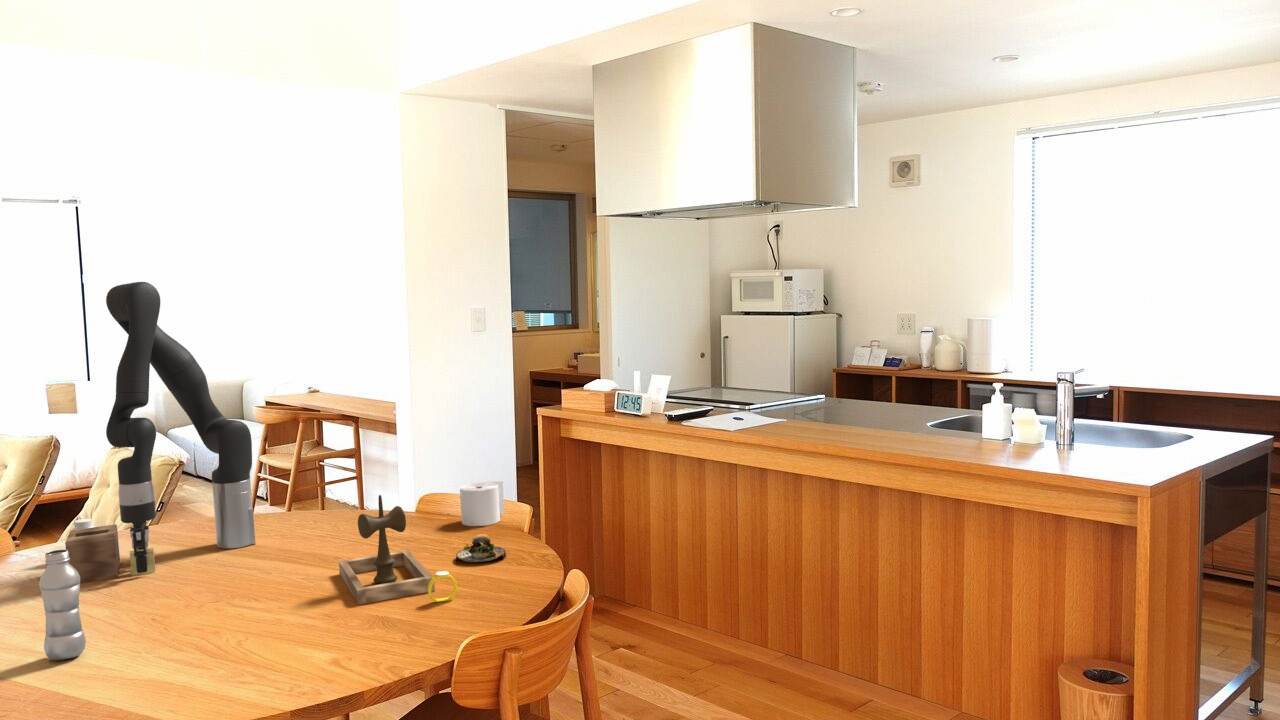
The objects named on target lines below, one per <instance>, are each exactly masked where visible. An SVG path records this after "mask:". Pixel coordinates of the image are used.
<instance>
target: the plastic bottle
mask: <svg viewBox="0 0 1280 720" xmlns="http://www.w3.org/2000/svg"><path fill="white" fill-rule="evenodd" d="M44 557H45V565H46V566H47V567H46V568H45V569H44V571H43V573H42V574H41V576H40V579H39V582H38V584H39V585H38V586H39V590H40V594H41V597H42V598H41V599H42V601H43V608H44V612H45V613H44V615H45V636H44V641H43V642H44V643H43V644H44V645H43V650H44V653H45V656H46V657H47V658H48V659H49V660H51V661H63V660H67V659H68V660H69V659H72V658H76V657H78V656H79V655H81V654H83V651H84V650H85V648H86V640H87V639H86V636H85V632H84V629H83V626H82V620H81V614H80V606H79V605H80V590H81V589H80V588H81V583H80V575H79V573H78V571H77V570H76V569H75V568H74V567H73V566H71V565H70V564H69V562H68V561H69V560H70V557H69V552H68V550H66V548H65V549H55V550H51V551H47V552H45V555H44Z"/></svg>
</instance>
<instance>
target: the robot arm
mask: <svg viewBox="0 0 1280 720" xmlns="http://www.w3.org/2000/svg"><path fill="white" fill-rule="evenodd" d="M105 304H106V307H107V310H108V313H110V315H111V317H112V318H113V319H114V320H115V321H116V322H117V324H118V325H119V326H120V327H121V328H122V329H123V330H124V331H125V333H126V334H127V335H128V336H127V341H126V343H125V344H126V345H125V347H124V349H123V353H122V355H121V358H120V361H119V364H118V367H117V371H116V378H115V400H114V403H113V406H112V408H111V412H110V416H109V419H108V422H107V424H106V431H105V433H106V434H105V435H106V439H107V441H108V443H109V444H110V445H111V446H112V447H115V448H134V450H133V452H132V455H131V456H128V457H124V458H121V459H119V460H118V463H117V476H118V501H119V514H120V521H121V522H122V523H123V524H132V527H130V530H129V536H130V538H131V548H132V549H133V551H134V556H135V558H136V567H137V572H138V573H143V572H147V558H146V556H147V552H146V549H148V548H149V542H150V535H149V534H150V526H149V525H147V521H152V520H153V519H155V518H156V516H157V511H156V502H155V501H156V500H155V499H156V497H155V490H154V484H153V480H152V467H151V464H152V457H153V453H154V452H153V451H154V448H155V444H156V443H155V442H156V438H157V428H156V426H155V424H154V422H153V421H152V420H151V419H150V418H147V417H132V415H133V413H134V411H135V410H136V409H140V408H144V407H146V406H147V405H148V404H149V397H150V396H149V395H150V372H151V371H150V369H151V366H152V368H153V369H154V371H155V372H156V374H157V375H158V377H159V378H160V380H161V381H162V382H163V384H164V385H165V386H166V388H167V390H168V391H169V392H170V393H171V395H172V396H173V397H174V399H175V400H176V401H177V403H178V405H179V406H180V407H181V409H183V411H184V412H185V413H186V414H185V415H187V416H188V418H189V420H190V421H191V423H192V424H193V426H194V428H195V430H196V432H197V434H198V436H199V438H200V439H201V442H202V443H203V444H204V446H205V447H206V449H208V451H210V452H212V453H214V454H217V455H218V466H217V468H215V469H214V470H212V472H211V485H212V496H213V510H214V521H215V522H214V524H215V535H216V546H217V548H219V549H227V550H229V549H238V548H242V547H247V546H251V545H255V544H256V543H257V542H256V529H255V518H254V508H253V501H252V500H253V499H252V487H251V475H250V474H251V471H252V470H251V469H252V466H253V443H252V435H251V431H250V428H249V427H248V425H247V424H246V423H245V422H243V421H241V420H236V419H227V418H226V417H225V416H224V415H223V413H221V411H220V410H219V409H218V407H217V406H216V405H215V404H214V401H213V400H212V397H211V394H210V389H209V384H208V379H207V377H206V374H205V372H204V370H203V369H202V367H201V365H200V364H199V362H198V361H197V360H196V358H195V357H194V355H193V354H192V353H191V352H190V351H189V350H188V349H187V348H186V347H185V346H184V345H183V344H181V343H180V342H178V341H177V340H176V339H174V338H173V337H172V336H170V335H169V334H167V333H166V331H164V330H163V329H162V328H161V327H160V326H159V325H158V321H159V316H160V315H159V314H160V310H161V296H160V293H159V291H158V289H157V288H156V287H155V286H154V285H153V284H151V283H149V282H147V281H134V282H128V283H123V284H118V285H115V286H113V287H112V288H110V289H109V290H108V292H107V294H106V297H105ZM141 549H143V550H144V551H137V550H141Z"/></svg>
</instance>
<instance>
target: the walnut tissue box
mask: <svg viewBox="0 0 1280 720" xmlns="http://www.w3.org/2000/svg"><path fill="white" fill-rule="evenodd" d="M64 544H65V550H68V552H69V557H70V560H69V561H68V562H69V564H70V565H71V566H73V567H74V568H75V569H76V570H77V571H78V573H79V575H80V584H82V583H88V582H94V581H100V580H106V579H107V580H108V579H115V578H118V577H119V573H120V572H119V571H120V568H119V567H120V566H121V557H120V545H119V535H118V525H117V524H109V525H101V526H95V527H93V528H85V529H77V530H73V529H71V530H69V532H68V535H67V538H66V539H65V543H64Z"/></svg>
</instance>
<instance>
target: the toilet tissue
mask: <svg viewBox="0 0 1280 720" xmlns="http://www.w3.org/2000/svg"><path fill="white" fill-rule="evenodd" d="M503 484H504V482H503V481H485V482H477V483H476V482H475V483H469V484H464V485H462V486H460V487H459V495H460V496H459V498H460V515H461V516H460V517H461V524H462V525H463V526H467V527H484V526H491V525H494V524H497V523H499V522H500V521H501V515H505V504H504V503H505V502H504V501H502V500H504V488H503V487H504V486H503Z"/></svg>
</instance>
